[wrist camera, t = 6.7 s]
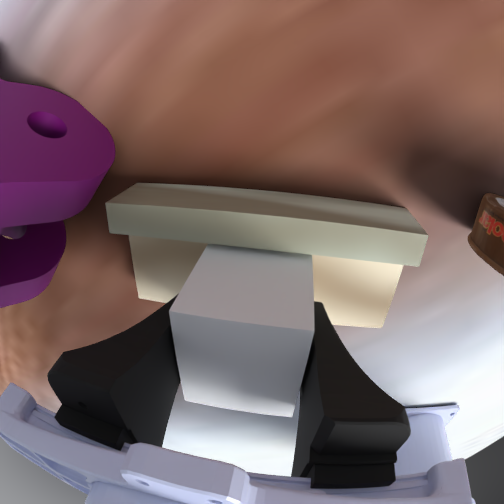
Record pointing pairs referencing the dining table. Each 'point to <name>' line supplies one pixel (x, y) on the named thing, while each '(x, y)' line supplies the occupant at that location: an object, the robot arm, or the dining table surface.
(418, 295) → the dining table surface
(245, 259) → the white block
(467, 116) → the dining table surface
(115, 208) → the rail
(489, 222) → the tin
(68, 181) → the mounting bracket
